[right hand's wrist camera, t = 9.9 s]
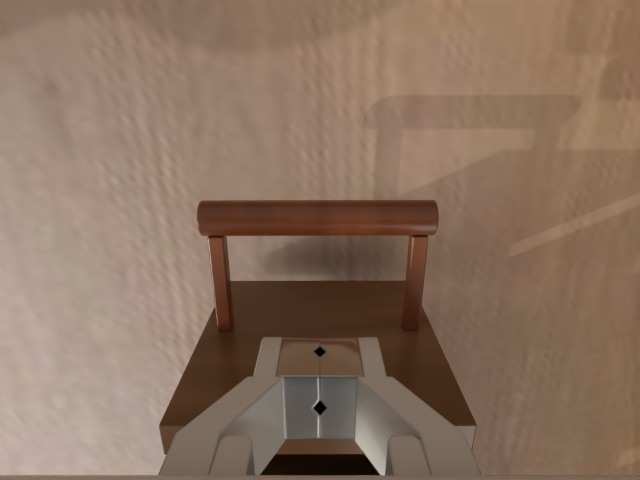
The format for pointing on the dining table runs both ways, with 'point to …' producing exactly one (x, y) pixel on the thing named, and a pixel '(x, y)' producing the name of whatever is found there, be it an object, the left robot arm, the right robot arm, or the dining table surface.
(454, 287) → the dining table surface
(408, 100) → the dining table surface
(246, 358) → the drawer
